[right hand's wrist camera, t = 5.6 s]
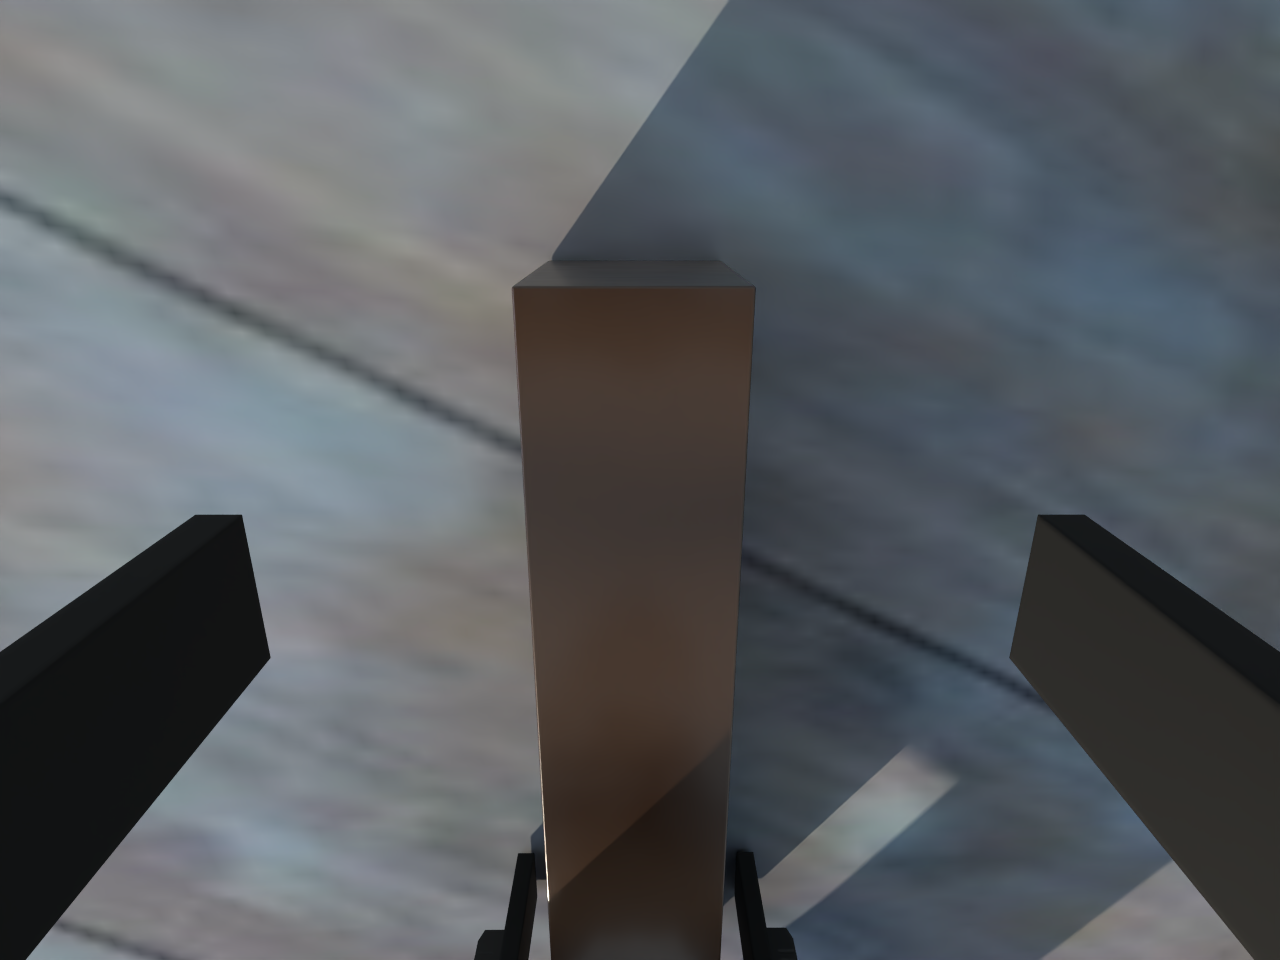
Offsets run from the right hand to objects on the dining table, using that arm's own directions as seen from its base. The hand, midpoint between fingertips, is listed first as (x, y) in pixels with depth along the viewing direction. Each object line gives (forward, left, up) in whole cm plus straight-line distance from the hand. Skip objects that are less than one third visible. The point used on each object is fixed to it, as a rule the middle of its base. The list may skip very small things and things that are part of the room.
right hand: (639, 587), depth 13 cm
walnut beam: (+12, 0, -16) cm, 20 cm away
